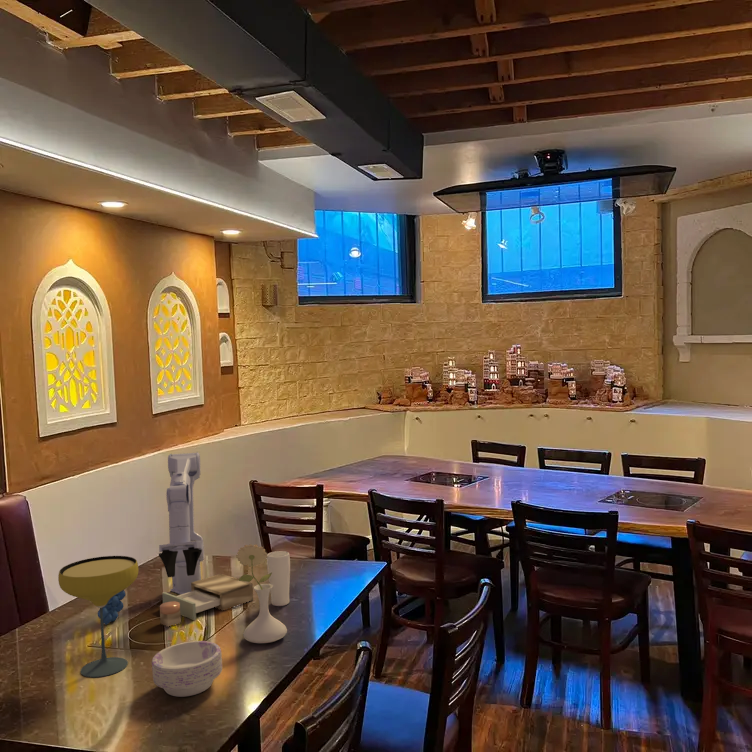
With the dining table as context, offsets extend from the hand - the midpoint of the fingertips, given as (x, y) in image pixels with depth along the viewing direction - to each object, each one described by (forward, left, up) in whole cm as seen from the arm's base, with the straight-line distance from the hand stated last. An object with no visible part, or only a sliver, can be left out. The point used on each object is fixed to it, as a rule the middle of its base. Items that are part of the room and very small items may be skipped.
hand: (180, 576), depth 205 cm
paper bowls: (+37, -22, -13) cm, 45 cm away
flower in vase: (+28, +6, -13) cm, 32 cm away
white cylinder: (+11, +26, -13) cm, 31 cm away
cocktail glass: (+11, -29, -13) cm, 34 cm away
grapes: (-18, -13, -13) cm, 25 cm away
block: (-2, -3, -13) cm, 13 cm away
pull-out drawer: (-6, +7, -13) cm, 16 cm away
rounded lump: (-2, -3, -9) cm, 10 cm away
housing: (-6, +17, -13) cm, 23 cm away
